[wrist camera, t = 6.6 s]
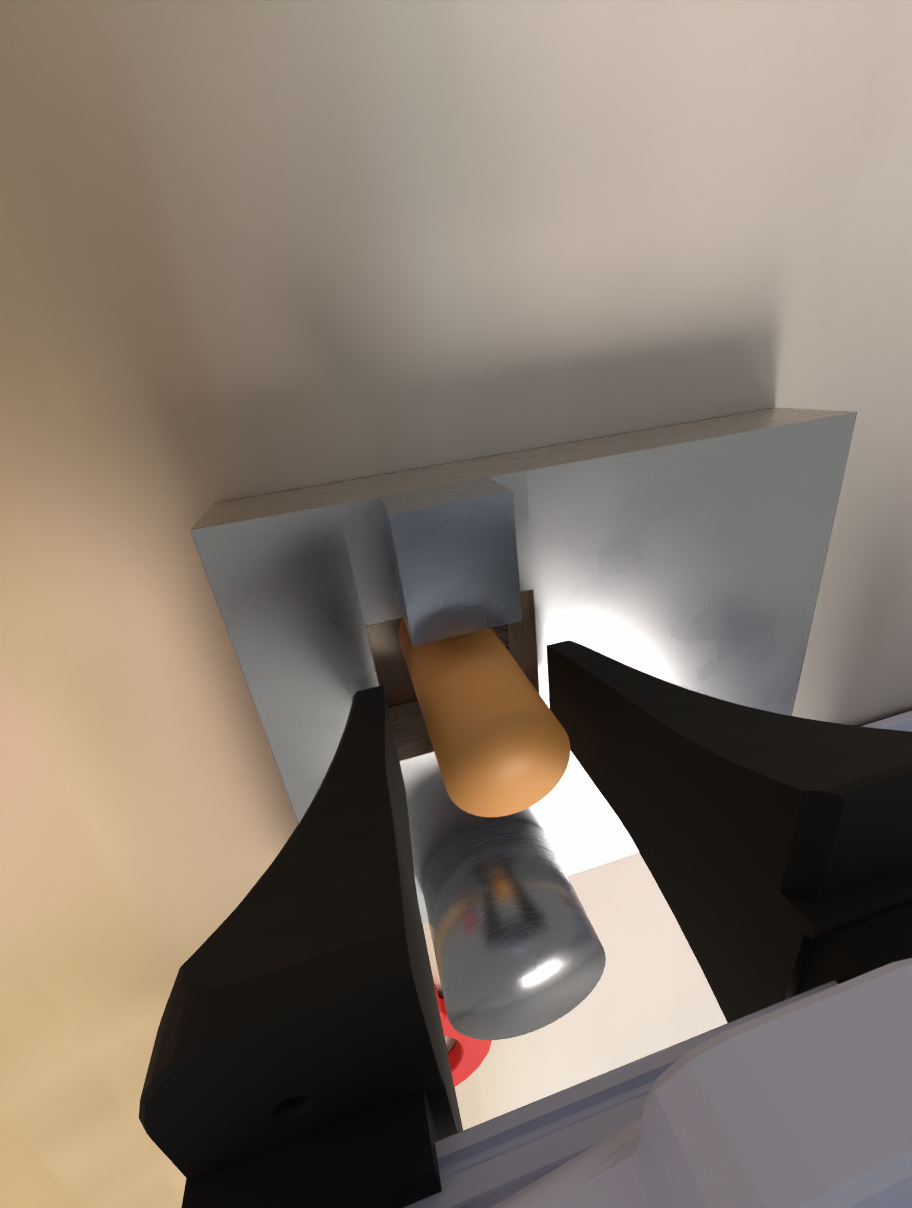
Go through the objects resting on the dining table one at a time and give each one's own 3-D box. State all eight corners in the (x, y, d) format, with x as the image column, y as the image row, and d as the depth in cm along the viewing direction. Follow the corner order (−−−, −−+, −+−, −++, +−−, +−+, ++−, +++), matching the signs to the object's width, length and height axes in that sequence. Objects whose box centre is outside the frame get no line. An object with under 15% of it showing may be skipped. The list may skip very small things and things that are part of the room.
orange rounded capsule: (479, 583, 15) (570, 697, 9) (485, 658, 16) (570, 797, 10) (392, 600, 14) (437, 729, 9) (404, 675, 15) (451, 831, 10)
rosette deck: (776, 407, 15) (1033, 421, 9) (721, 775, 21) (857, 907, 16) (214, 503, 12) (129, 598, 7) (345, 891, 18) (356, 1098, 13)
